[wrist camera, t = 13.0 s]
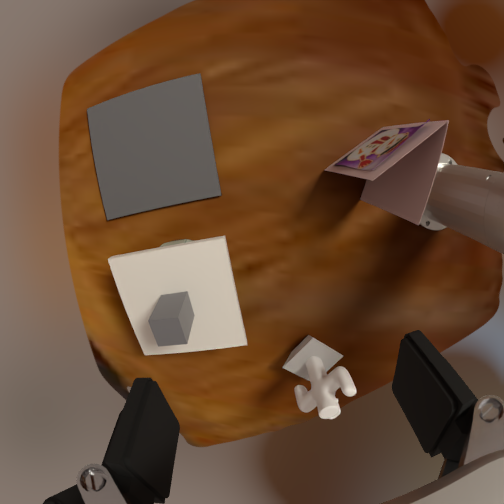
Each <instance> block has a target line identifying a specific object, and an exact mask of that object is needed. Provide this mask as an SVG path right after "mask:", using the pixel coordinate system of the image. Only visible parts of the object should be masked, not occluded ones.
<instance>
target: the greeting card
mask: <svg viewBox="0 0 504 504" xmlns="http://www.w3.org/2000/svg"><path fill="white" fill-rule="evenodd" d="M429 120H430V119H429ZM429 120H428V121H429ZM428 121H427V122H423V123H414V124H405V125H397V126H389V127H382V128H381V129H380V130H378V131H377V132H376V133H374V134H373V135H371V136H370V137H369V138H367V139H366V140H364V141H363V142H362V143H360V144H359V145H358V146H356V147H355V148H353V149H352V150H351V151H349V152H348V153H347V154H345V155H344V156H342V157H341V158H340V159H338V160H337V161H336V162H334V163H333V164H332V165H330V166H329V167H328V168H326V169H325V171H330V172H335V173H340V174H345V175H349V176H354V177H358V178H363V179H367V180H366V183H365V186H364V189H363V192H362V195H361V198H360V200H362V201H364V202H367V203H369V204H372V205H374V206H376V207H379V208H381V209H383V210H386V211H388V212H390V213H392V214H395V215H397V216H399V217H401V218H403V219H406V220H408V221H410V222H412V223H414V224H416V225H418V226H419V223H420V221H421V218H422V215H423V212H424V209H425V206H426V203H427V200H428V197H429V194H430V191H431V188H432V185H433V181H434V178H435V175H436V171H437V168H438V164H439V160H440V156H441V153H442V149H443V144H444V140H445V136H446V131H447V127H448V122H449V120H448V121H434V122H428Z"/></svg>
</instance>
